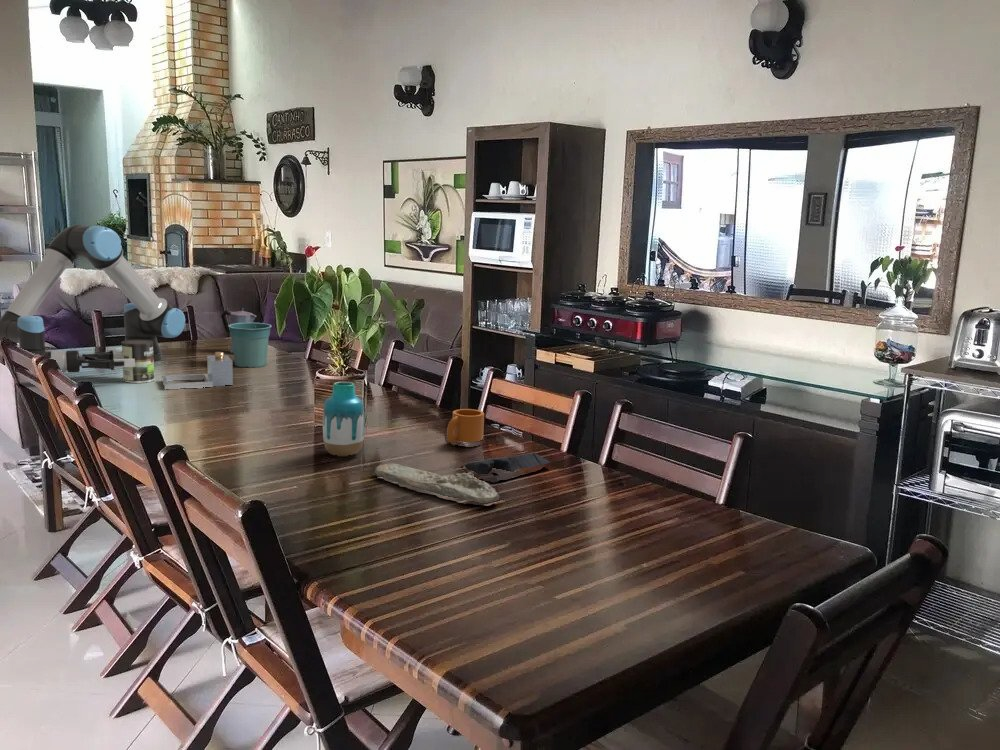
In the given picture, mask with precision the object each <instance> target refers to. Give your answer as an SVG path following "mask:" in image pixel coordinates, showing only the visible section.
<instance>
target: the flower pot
mask: <svg viewBox="0 0 1000 750" xmlns="http://www.w3.org/2000/svg"><path fill="white" fill-rule="evenodd" d="M271 328H272V325H271V324H269V323H264V322H262V323H261V322H253V323H235V324H232V323H231V324H228V329H229V330H230V336H231V342H233V351H234V354H233V357H234V365H235V367H238V368H246V367H248V368H249V369H251V368H252V367H257V368H262V367H265V366H266V365H267V364H268V363H267V362H268V348H269V337H270V335H271Z"/></svg>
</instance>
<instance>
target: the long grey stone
mask: <svg viewBox="0 0 1000 750" xmlns="http://www.w3.org/2000/svg"><path fill="white" fill-rule="evenodd" d="M375 473H376V474H377V475H378V476H381V477H383V478H385V479H388V480H392V481H395V482H398V483H400V484H404V485H409V486H412V487H416V488H419V489H422V490H426V491H430V492H434V493H437V494H440V495H443V496H448V497H453V498H459V499H463V500H467V501H475V502H479V503H488V502H493V501H496V500H498V499H499V500H500V495H499V494H498V492H497V491H496V488H494V487H492V486H491V484H490V483H489V482H485V481H484V480H479V479H477V478H476V477H474V474H473V473H471V472H468V473H466V472H461V473H457V472H456V473H455V474H453V473H451V474H437V473H435V472H432V471H431V472H430V471H427V470H422V469H418V468H414V467H410V466H405V465H402V464H399V463H394V462H393V463H392V462H390V463H384V464H379V465H378V466H376V467H375V469H374V474H375ZM499 500H498V501H499Z"/></svg>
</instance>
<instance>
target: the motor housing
mask: <svg viewBox="0 0 1000 750" xmlns="http://www.w3.org/2000/svg"><path fill="white" fill-rule="evenodd" d="M206 357H207V359H206V361H207V362H206V363H207V366H206V367H207V373H192V374H190V373H189V374H170V375H161V382H163V383H162V385H164V386H163V388H164V390H165V391H167V390H166V389H179V390H181V389H180V388H198V389H206V388H205V387H213V386H216V387H226V386H225V385H233V386H234V382H233V381H234V380H233V379H234V376H233V375H234V373H233V360H232V359H231V357H230V355H228V354H225V352H223V351H215V352H214V354H213V355H206ZM203 379H204V380H203ZM173 380H191V381H193V382H191V381H189V382H174V381H173ZM168 381H170V382H171V383H169V382H168ZM172 382H173V383H172ZM203 387H204V388H203ZM213 388H214V387H213Z"/></svg>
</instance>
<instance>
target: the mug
mask: <svg viewBox="0 0 1000 750" xmlns="http://www.w3.org/2000/svg"><path fill="white" fill-rule="evenodd" d="M484 425H485V413H484V411H482V410H479V409H472V408H460V409H455V410H453V411H452V418H451V419H450V420H449V422H448V425H447V428H446V438H447V441H448V442H456V441H464V442H474V441H475V442H476V441H480V440H482V439H483V440H484V428H485V427H484Z"/></svg>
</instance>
